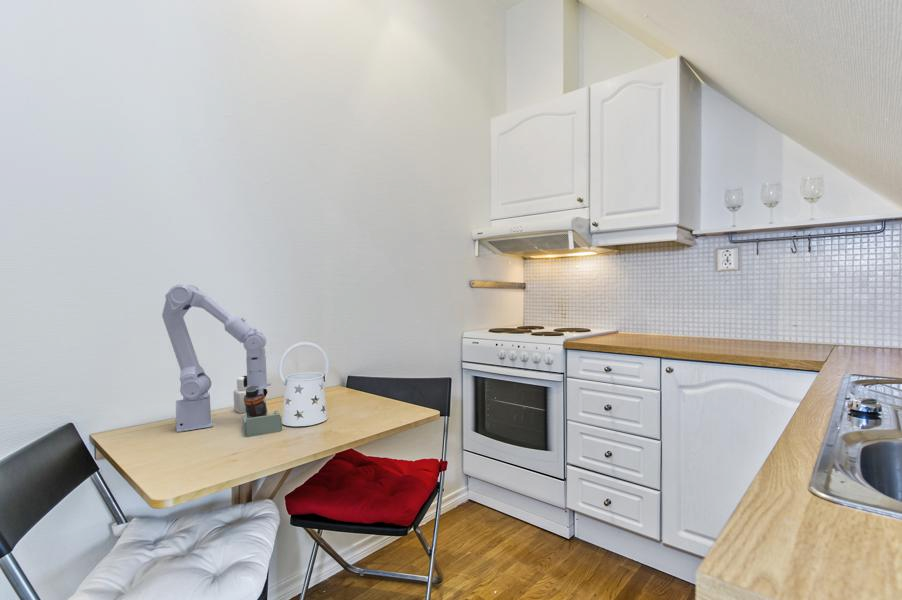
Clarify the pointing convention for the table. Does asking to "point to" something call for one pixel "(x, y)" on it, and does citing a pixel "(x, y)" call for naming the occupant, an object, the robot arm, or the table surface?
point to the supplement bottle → (255, 403)
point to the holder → (262, 424)
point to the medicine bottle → (240, 394)
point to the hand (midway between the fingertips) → (258, 413)
